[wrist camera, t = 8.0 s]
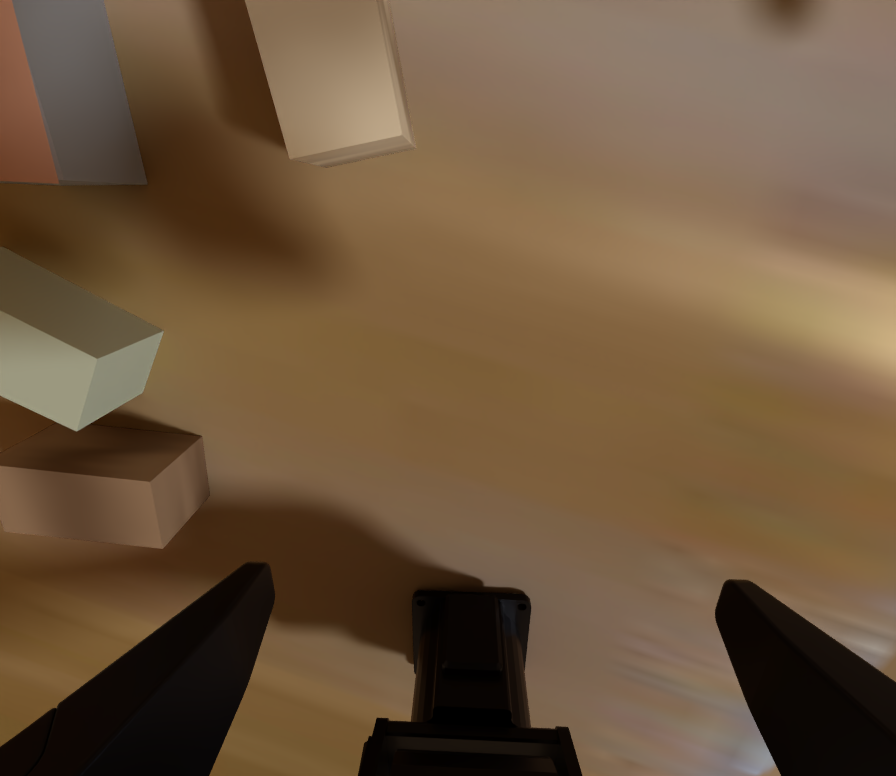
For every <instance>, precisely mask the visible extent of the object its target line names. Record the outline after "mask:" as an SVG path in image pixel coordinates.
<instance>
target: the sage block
mask: <svg viewBox="0 0 896 776" xmlns="http://www.w3.org/2000/svg"><path fill="white" fill-rule="evenodd" d="M163 332H164V331H163V330H161V329H160V328H158V327H156V326H154V325H152V324H150V323H148V322H146V321H144V320H142V319H140V318H138V317H137V316H135V315H133V314H131V313H129V312H127V311H125V310H123V309H121V308H119V307H117V306H115V305H114V304H112V303H110V302H108V301H106V300H104V299H102V298H100V297H98V296H96V295H94V294H92V293H91V292H89V291H87V290H85V289H83V288H81V287H79V286H77V285H75V284H73V283H71V282H69V281H68V280H66V279H64V278H62V277H60V276H58V275H56V274H54V273H52V272H50V271H48V270H47V269H45V268H43V267H41V266H39V265H37V264H35V263H33V262H31V261H29V260H27V259H25V258H24V257H22V256H20V255H18V254H16V253H14V252H12V251H10V250H8V249H6V248H4V247H0V396H2V397H4V398H6V399H8V400H10V401H13V402H15V403H17V404H19V405H21V406H23V407H25V408H28V409H30V410H32V411H34V412H36V413H38V414H40V415H42V416H45V417H47V418H49V419H51V420H53V421H55V422H57V423H59V424H62V425H64V426H66V427H68V428H70V429H72V430H74V431H76V432H77V431H78V430H80V429H82V428H84V427H85V426H87V425H89V424H90V423H92V422H94V421H95V420H97V419H99V418H101V417H102V416H104V415H106V414H107V413H109V412H111V411H113V410H114V409H116V408H118V407H119V406H121V405H123V404H124V403H126V402H128V401H130V400H131V399H133V398H135V397H136V396H138V395H140V394H141V393H143V390H144V387H145V384H146V382H147V379H148V376H149V373H150V370H151V367H152V364H153V361H154V358H155V355H156V352H157V349H158V347H159V344H160V341H161V338H162V335H163Z"/></svg>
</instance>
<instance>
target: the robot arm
mask: <svg viewBox="0 0 896 776" xmlns="http://www.w3.org/2000/svg"><path fill="white" fill-rule="evenodd" d="M274 600H275V590H274V585H273V580H272V574H271V569H270V566H269V564H268V563H266V562H247V563H245V564H243V565H242V566H241V567H239V568H238V569H237V570H235V571H234V572H233V573H231V574H230V575H229V576H227V577H226V578H225V579H223V580H222V581H221V582H219V583H218V584H217V585H215V586H214V587H213V588H211V589H210V590H209V591H207V592H206V593H205V594H203V595H202V596H201V597H199V598H198V599H197V600H196V601H194V602H193V603H192V604H190V605H189V606H188V607H186V608H185V609H184V610H182V611H181V612H180V613H178V614H177V615H176V616H174V617H173V618H172V619H170V620H169V621H168V622H166V623H165V624H164V625H162V626H161V627H160V628H158V629H157V630H156V631H154V632H153V633H152V634H150V635H149V636H148V637H146V638H145V639H144V640H142V641H141V642H140V643H138V644H137V645H136V646H134V647H133V648H132V649H131V650H129V651H128V652H127V653H125V654H124V655H123V656H121V657H120V658H119V659H117V660H116V661H115V662H113V663H112V664H111V665H109V666H108V667H107V668H105V669H104V670H103V671H101V672H100V673H99V674H97V675H96V676H95V677H93V678H92V679H91V680H89V681H88V682H87V683H85V684H84V685H83V686H81V687H80V688H79V689H77V690H76V691H75V692H73V693H72V694H71V695H69V696H68V697H67V698H66V699H64V700H63V701H62V702H60V703H59V704H58V706H57V709H56V708H52V709H51V710H49V711H48V712H47V713H45V714H44V715H43V716H41V717H40V718H39V719H37V720H36V721H35V722H33V723H32V724H31V725H29V726H28V727H27V728H25V729H24V730H23V731H21V732H20V733H19V734H17V735H16V736H15V737H13V738H12V739H10V740H9V741H8V742H6V743H5V744H4V745H2V746H1V747H0V776H209V775H210V772H211V770H212V768H213V765H214V763H215V761H216V758H217V756H218V754H219V751H220V749H221V747H222V744H223V742H224V740H225V737H226V735H227V733H228V730H229V728H230V726H231V723H232V721H233V719H234V716H235V714H236V712H237V709H238V707H239V705H240V702H241V700H242V698H243V695H244V693H245V690H246V688H247V685H248V682H249V680H250V677H251V674H252V671H253V668H254V665H255V661H256V658H257V655H258V652H259V649H260V646H261V643H262V639H263V636H264V633H265V630H266V627H267V624H268V621H269V617H270V614H271V611H272V608H273V605H274ZM421 600H422V601H421ZM530 614H531V603H530V598H529V597H528V596H526V595H523V594H502V593H476V592H451V591H425V590H420V591H417V592H415V593H414V594H413V599H412V619H413V651H414V672H415V674H416V680H415V689H414V698H413V707H412V716H411V722H406V721H389V718H377V719H376V723H375V727H374V731H373V735H372V736H369V738H368V741H367V742H365V743H364V747H363V752H362V758H361V763H360V768H359V773H358V776H582V773H581V769H580V766H579V762H578V759H577V755H576V752H575V749H574V745H573V742H572V738H571V735H570V731H569V728H568V727H559V726H556V728H555V729H550V728H531V724H530V715H529V707H528V698H527V690H526V682H525V673H524V671H525V661H526V652H527V642H528V633H529V624H530ZM715 618H716V623H717V626H718V628H719V631H720V634H721V636H722V639H723V642H724V644H725V647H726V650H727V652H728V655H729V658H730V660H731V663H732V666H733V668H734V671H735V674H736V676H737V679H738V682H739V684H740V687H741V690H742V692H743V695H744V697H745V700H746V702H747V705H748V707H749V709H750V712H751V714H752V716H753V718H754V720H755V722H756V725H757V727H758V729H759V731H760V733H761V735H762V737H763V739H764V741H765V743H766V745H767V747H768V749H769V751H770V754H771V756H772V758H773V760H774V762H775V764H776V766H777V768H778V770H779V772H780V774H781V776H896V682H895V681H894V680H892V679H890V678H889V677H888V676H886V675H885V674H884V673H882V672H881V671H879V670H878V669H876V668H875V667H873V666H872V665H871V664H869V663H868V662H866V661H865V660H863V659H862V658H861V657H859V656H858V655H856V654H855V653H853V652H852V651H851V650H849V649H848V648H846V647H845V646H843V645H842V644H840V643H839V642H838V641H836V640H835V639H833V638H832V637H830V636H829V635H828V634H826V633H825V632H823V631H822V630H820V629H819V628H818V627H816V626H815V625H813V624H812V623H810V622H809V621H807V620H806V619H805V618H803V617H802V616H800V615H799V614H797V613H796V612H795V611H793V610H792V609H790V608H789V607H787V606H786V605H785V604H783V603H782V602H780V601H779V600H777V599H776V598H774V597H773V596H772V595H770V594H769V593H767V592H766V591H764V590H763V589H762V588H760V587H759V586H757V585H756V584H754V583H753V582H751V581H748V580H734V579H729V580H727V581H725V582H724V584H723V587H722V590H721V593H720V596H719V599H718V603H717V606H716V609H715Z"/></svg>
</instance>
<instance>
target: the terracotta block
mask: <svg viewBox="0 0 896 776" xmlns="http://www.w3.org/2000/svg"><path fill="white" fill-rule="evenodd" d="M0 181H9V182H31V183H53V184H59V181H58V177H57V173H56V169H55V165H54V161H53V158H52V154H51V150H50V146H49V142H48V138H47V134H46V131H45V127H44V123H43V119H42V115H41V111H40V107H39V103H38V100H37V96H36V92H35V88H34V84H33V80H32V76H31V73H30V69H29V65H28V61H27V57H26V53H25V49H24V46H23V42H22V38H21V34H20V30H19V26H18V22H17V18H16V15H15V11H14V7H13V3H12V0H0Z"/></svg>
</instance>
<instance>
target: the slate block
mask: <svg viewBox="0 0 896 776" xmlns="http://www.w3.org/2000/svg"><path fill="white" fill-rule="evenodd" d="M12 3H13V7H14V11H15V15H16V18H17V22H18V26H19V30H20V34H21V38H22V42H23V46H24V49H25V53H26V57H27V61H28V65H29V69H30V73H31V76H32V80H33V84H34V88H35V92H36V96H37V100H38V103H39V107H40V111H41V115H42V119H43V123H44V127H45V131H46V134H47V138H48V142H49V146H50V150H51V154H52V158H53V161H54V165H55V169H56V173H57V177H58V181H59V184H53V183H31V182H9V181H0V183H11V184H36V185H61V186H64V185H148V183H147V179H146V175H145V171H144V167H143V163H142V158H141V154H140V150H139V146H138V142H137V138H136V133H135V129H134V125H133V121H132V117H131V113H130V108H129V104H128V100H127V96H126V92H125V88H124V83H123V79H122V75H121V71H120V67H119V63H118V58H117V54H116V50H115V46H114V42H113V38H112V33H111V29H110V25H109V21H108V17H107V13H106V8H105V4H104V0H12Z"/></svg>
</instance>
